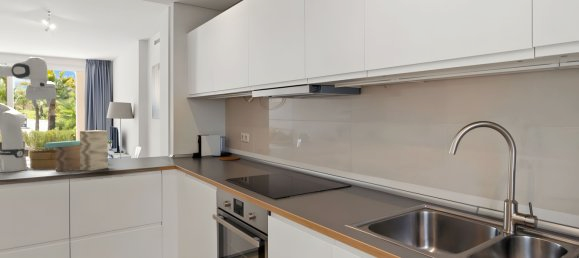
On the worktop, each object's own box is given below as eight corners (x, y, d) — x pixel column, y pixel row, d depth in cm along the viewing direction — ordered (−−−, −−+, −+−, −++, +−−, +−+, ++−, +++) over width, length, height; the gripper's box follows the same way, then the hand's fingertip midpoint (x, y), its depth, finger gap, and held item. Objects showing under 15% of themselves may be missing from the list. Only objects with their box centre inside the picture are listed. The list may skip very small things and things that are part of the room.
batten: (44, 147, 211) (44, 143, 211) (78, 144, 234) (78, 140, 234) (48, 147, 211) (48, 143, 210) (81, 144, 234) (81, 140, 234)
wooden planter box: (56, 169, 230) (55, 152, 229) (20, 169, 230) (19, 152, 230) (79, 164, 254) (79, 149, 254) (47, 164, 255) (46, 149, 255)
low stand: (55, 170, 222) (55, 146, 221) (74, 167, 235) (73, 144, 235) (65, 171, 220) (65, 146, 219) (83, 168, 233) (83, 145, 233)
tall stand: (80, 170, 225) (79, 131, 224) (97, 167, 239) (96, 130, 238) (91, 170, 223) (90, 131, 222) (107, 167, 237) (107, 130, 236)
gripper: (21, 84, 205) (23, 107, 207) (47, 83, 200) (50, 107, 201) (31, 85, 211) (33, 107, 213) (57, 84, 206) (59, 106, 207)
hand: (41, 107), depth 207 cm, fingers open, 8 cm apart
